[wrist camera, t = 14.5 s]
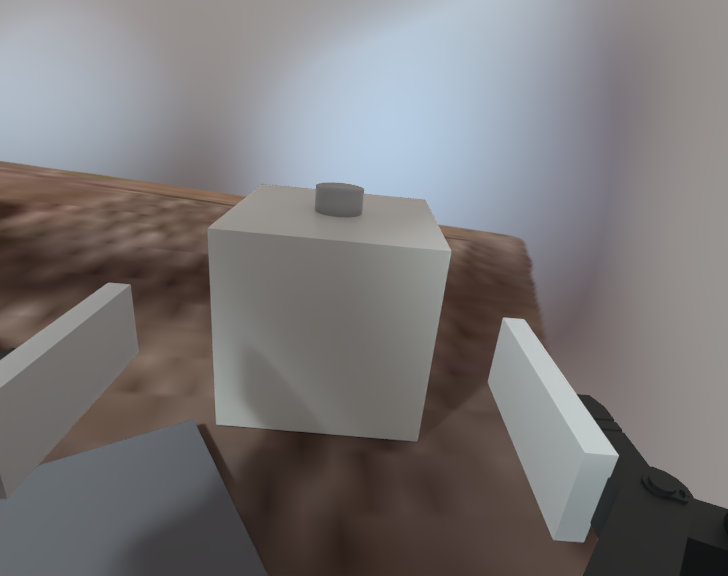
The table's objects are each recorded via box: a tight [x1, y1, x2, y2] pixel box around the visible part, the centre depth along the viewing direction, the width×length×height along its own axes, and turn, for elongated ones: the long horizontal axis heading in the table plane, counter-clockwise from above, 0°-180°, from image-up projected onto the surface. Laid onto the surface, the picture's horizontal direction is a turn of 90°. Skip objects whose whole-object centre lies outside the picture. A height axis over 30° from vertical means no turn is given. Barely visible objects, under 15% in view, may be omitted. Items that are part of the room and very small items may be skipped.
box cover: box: [208, 183, 451, 442], centre depth 25 cm, size 10×10×11 cm
